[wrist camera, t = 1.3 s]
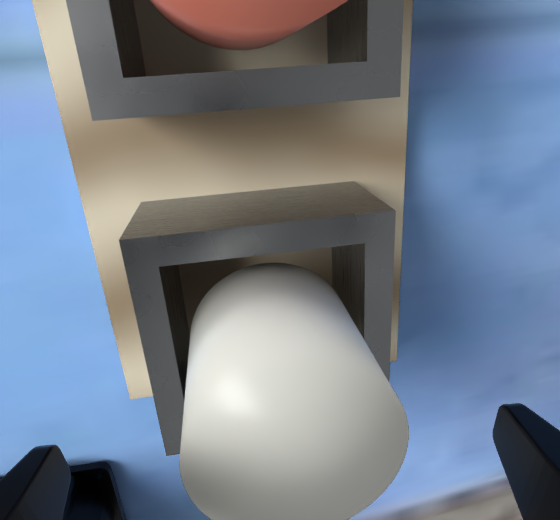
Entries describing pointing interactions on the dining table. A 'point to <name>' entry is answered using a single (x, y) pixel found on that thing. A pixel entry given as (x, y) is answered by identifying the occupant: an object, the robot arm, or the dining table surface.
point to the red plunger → (242, 19)
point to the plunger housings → (252, 204)
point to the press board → (218, 154)
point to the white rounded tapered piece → (285, 403)
